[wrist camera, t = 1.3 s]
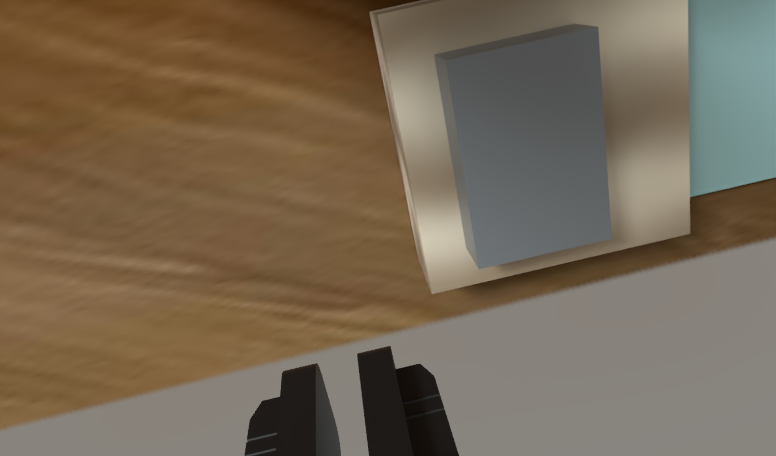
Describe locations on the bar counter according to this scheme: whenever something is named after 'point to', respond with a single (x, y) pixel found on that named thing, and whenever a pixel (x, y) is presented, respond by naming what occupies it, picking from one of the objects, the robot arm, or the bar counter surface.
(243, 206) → the bar counter surface
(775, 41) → the mat
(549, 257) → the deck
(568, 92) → the grey rectangular block
